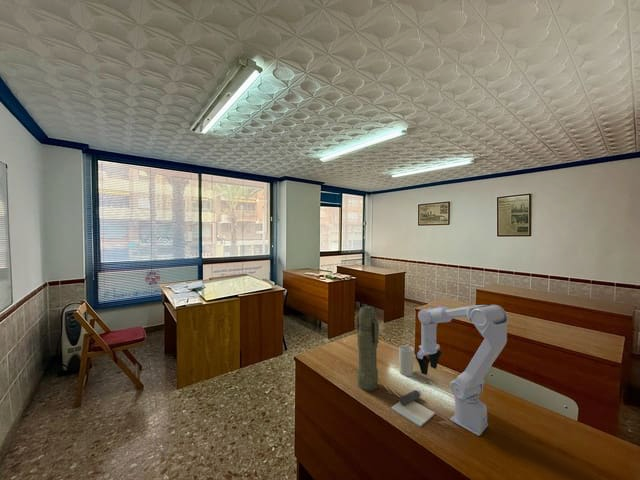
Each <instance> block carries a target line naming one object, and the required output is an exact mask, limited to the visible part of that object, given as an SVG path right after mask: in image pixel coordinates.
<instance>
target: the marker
mask: <svg viewBox="0 0 640 480" xmlns="http://www.w3.org/2000/svg"><path fill="white" fill-rule="evenodd" d="M420 397H422V391H421V390H420V389H419V388H415V389H413V390H411V391H410V392H408V393H406V394H404V395H403V396H401V397H399V402H400V403H401V404H402V405H406V404H408V403H410V402H411V401H415V400H417V399H418V398H420Z"/></svg>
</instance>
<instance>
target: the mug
mask: <svg viewBox="0 0 640 480" xmlns="http://www.w3.org/2000/svg"><path fill="white" fill-rule="evenodd" d="M398 357H399V359H398V362H399V363H398V365H399V367H398V369H399V374H401V375H402V376H405V377H411V376H413V375H414V361H415V351H414V347H412V346H410V345H400V346H399V347H398Z"/></svg>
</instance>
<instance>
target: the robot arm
mask: <svg viewBox="0 0 640 480" xmlns="http://www.w3.org/2000/svg"><path fill="white" fill-rule="evenodd" d="M417 313H418V314H417V317H418V320H419V322H420V323H421V325H420V327H421V329H420V330H421V333H420V335H421V336H420V338H421V344H420V345H418V348H419V350H418V352H417V353H416V354H415V359H416V361H417V363H418V365H419V369H420V372H421V374H423V375H425V376H427V375H428V371H429V366H430V368H432V369H435V370H436V369H437V367H438V364H439V360H440V357H441V356H442V355H443V353H442V351H441V350H440V349H441V347H440V346H441V345H440V344H438V343H437V327H438V324H441V323H449V322H451V321H452V320H453V319H455V318H467V320H468V322H472V324H473V325H474V326H475V328H476V329H477V330H478V332H479V334H480V336H482V337H483V338H484V339H483V340H482V342H481V344H480V345H479V347H478V349H477V351H476V352H475V353H474V356H472V358H471V360H470V361H469V364H468V365H467V366H466V368H465V370H464V371H462V372H461V373H460V374H459V375H458V376H457V377H456V379H452V380H451V381H450V382H449V383H450V384H449V388H450V391H451V393H452V395H453V396H454V414H453V416H451V418H450V421H451V422H453V423H454V424H457V425H458V426H460V427H461V428H463V429H465V430H467V431H469V432H471V433H472V434H474V435H476V436H481V435H482V433H483V432H485V430H486V428H487V427H488V426H489V423H488V406H487V405H486V404H485V403H484V402H482V401H481V400H480V394H481V393H483V390H484V384H485V379H484V378H485V377H486V374H487V373H489V370H490V368H492V365H493V364H494V362H495V361H496V360H497V358H498V357H499V355H500V354H501V352H502V351H503V350H504V347H506V345H507V342H508V328H507V327H508V323H509V321H510V319H509V316H508V315H507V313H506V311H505V309H504V308H503V307H502V306H500V305H498V304H490V305H488V304H476V305H473V304H472V305H468V306H461V307H456V308H449V306H444V305H443V304H441V305H438V306H437V307H432V306H431V307H429V308H426V309H421V310H419V311H418V312H417ZM427 356H428V357H429V358H427Z"/></svg>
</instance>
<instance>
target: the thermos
mask: <svg viewBox="0 0 640 480" xmlns="http://www.w3.org/2000/svg"><path fill="white" fill-rule="evenodd" d="M379 325H380V324H379V322H378V320H377V312H376V310H375V307H373V306H371V305H363V306H361V307H359V311H358V315H357V317H356V334H357V335H356V337H357V348H358V367H357V385H358V387H359V388H360V389H361V390H362V391H366V392H373V391H376V390H377V389H378V387H379V386H378V382H379V371H378V368H377V367H378V366H377V363H378V362H377V361H378V360H377V349H378V346H379V345H378V344H379V343H380V342H379V341H380V340H379V337H380V336H379V331H380V330H379V329H380V328H379Z"/></svg>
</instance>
